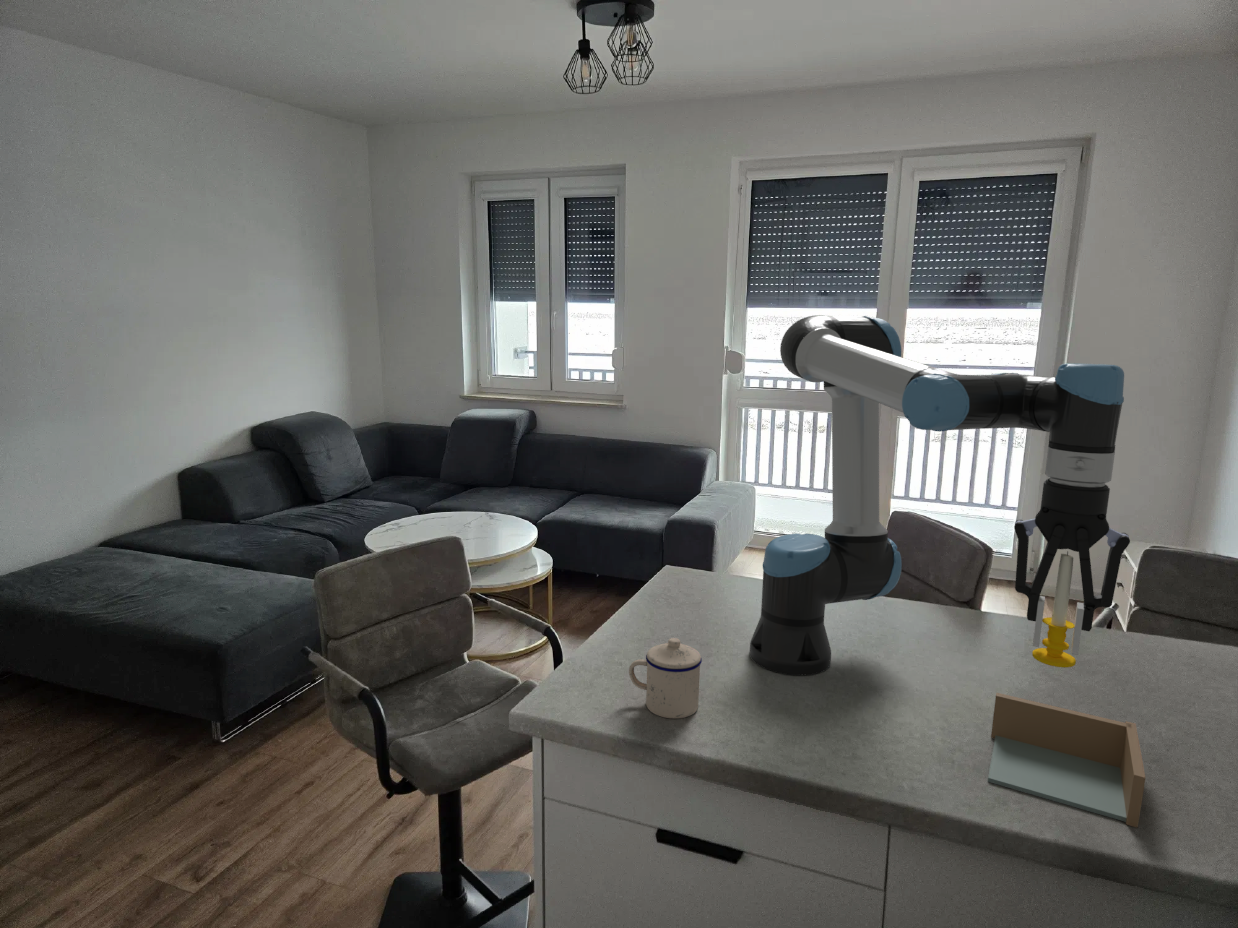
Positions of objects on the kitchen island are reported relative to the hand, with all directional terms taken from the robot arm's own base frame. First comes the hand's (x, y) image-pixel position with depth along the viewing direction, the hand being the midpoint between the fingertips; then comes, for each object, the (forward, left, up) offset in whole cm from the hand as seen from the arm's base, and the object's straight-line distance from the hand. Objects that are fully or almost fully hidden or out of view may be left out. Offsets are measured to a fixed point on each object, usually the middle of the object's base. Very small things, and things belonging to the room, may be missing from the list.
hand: (1055, 646), depth 102 cm
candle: (0, 0, -2) cm, 2 cm away
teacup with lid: (-54, -12, -19) cm, 59 cm away
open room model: (+2, 0, -19) cm, 19 cm away
